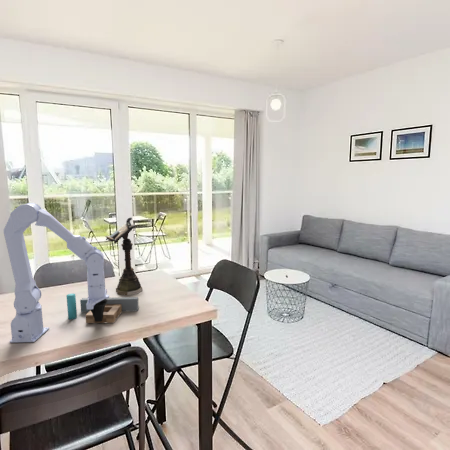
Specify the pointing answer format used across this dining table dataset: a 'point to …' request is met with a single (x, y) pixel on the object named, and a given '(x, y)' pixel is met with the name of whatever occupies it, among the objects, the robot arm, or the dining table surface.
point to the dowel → (71, 306)
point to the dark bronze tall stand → (126, 262)
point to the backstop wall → (126, 302)
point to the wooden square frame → (106, 314)
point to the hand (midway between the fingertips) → (98, 320)
